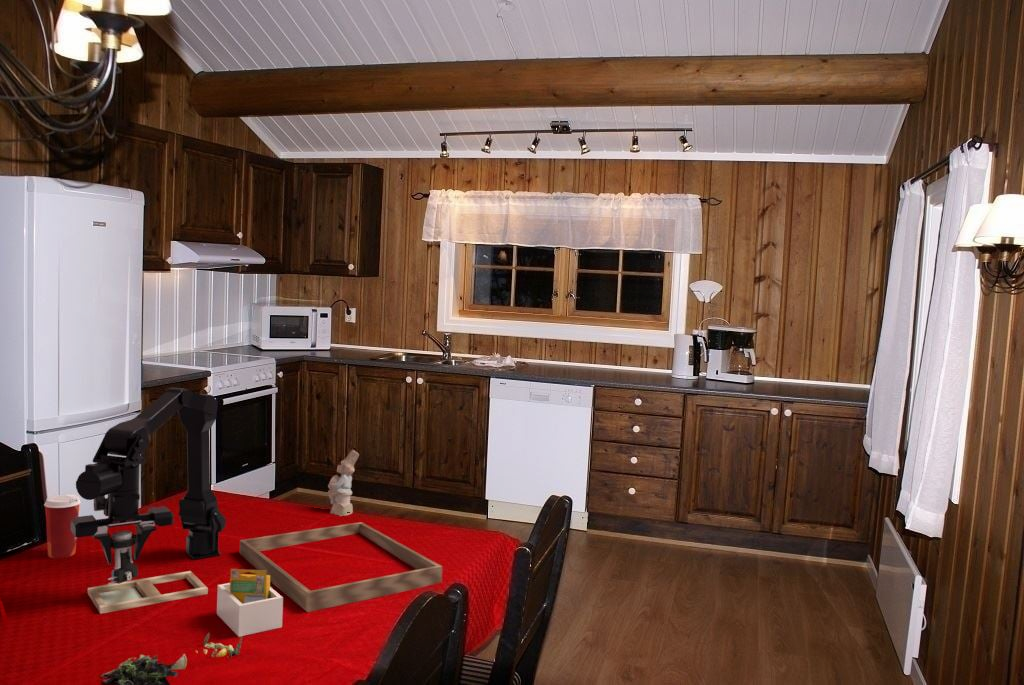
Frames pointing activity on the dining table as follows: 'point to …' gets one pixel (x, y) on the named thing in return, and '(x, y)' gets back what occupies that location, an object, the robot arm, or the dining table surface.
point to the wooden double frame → (128, 597)
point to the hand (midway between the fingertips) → (122, 561)
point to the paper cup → (61, 525)
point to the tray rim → (344, 593)
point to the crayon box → (249, 585)
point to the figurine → (342, 486)
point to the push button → (123, 557)
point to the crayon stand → (249, 612)
